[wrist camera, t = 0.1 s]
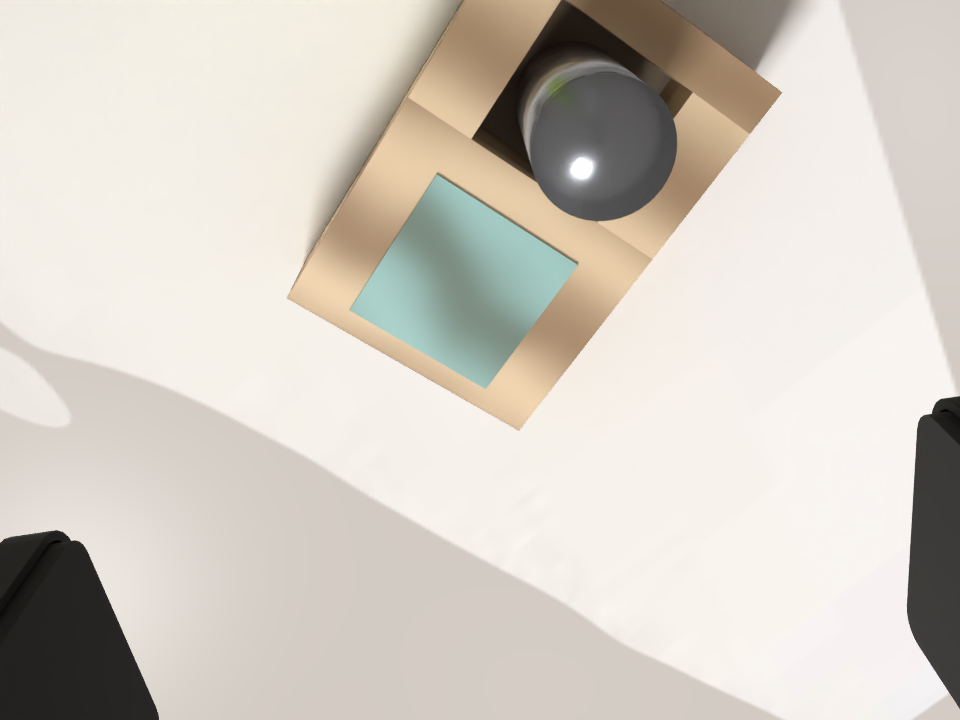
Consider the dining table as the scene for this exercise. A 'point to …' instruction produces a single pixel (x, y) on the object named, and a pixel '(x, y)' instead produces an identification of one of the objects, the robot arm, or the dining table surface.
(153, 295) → the dining table surface
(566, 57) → the grey cylinder
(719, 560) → the dining table surface
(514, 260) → the housing
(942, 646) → the robot arm
